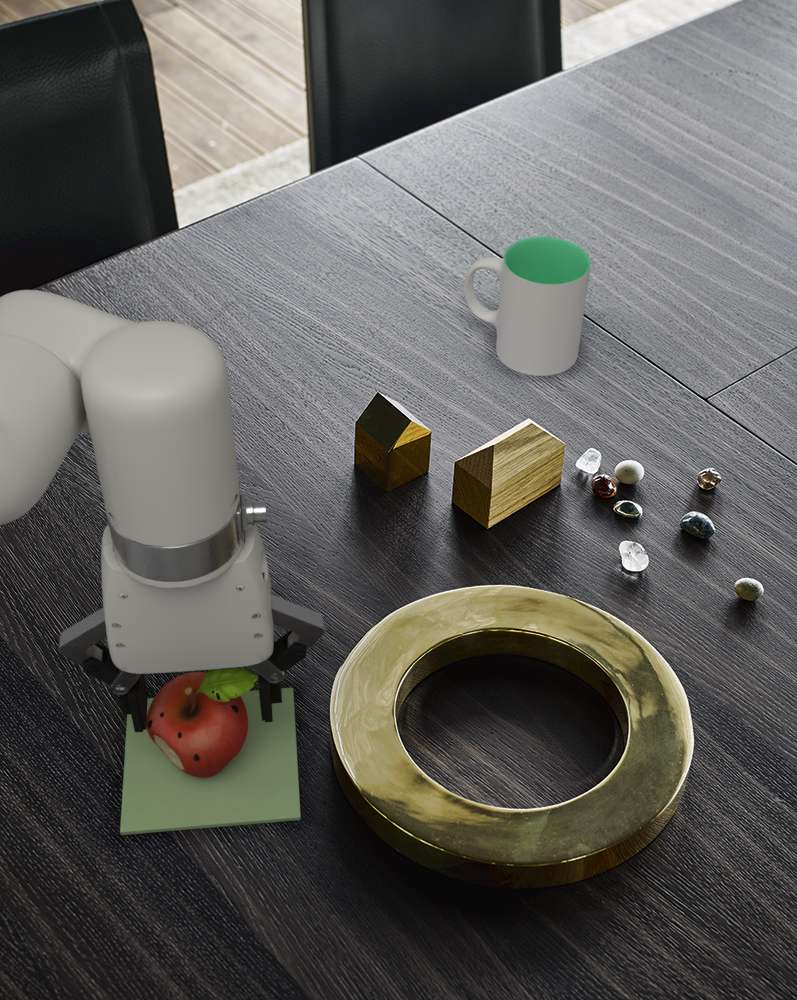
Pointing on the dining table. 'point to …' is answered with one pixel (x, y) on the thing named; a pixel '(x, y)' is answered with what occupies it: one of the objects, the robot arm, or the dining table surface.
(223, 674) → the apple
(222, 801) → the cloth
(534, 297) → the mug
